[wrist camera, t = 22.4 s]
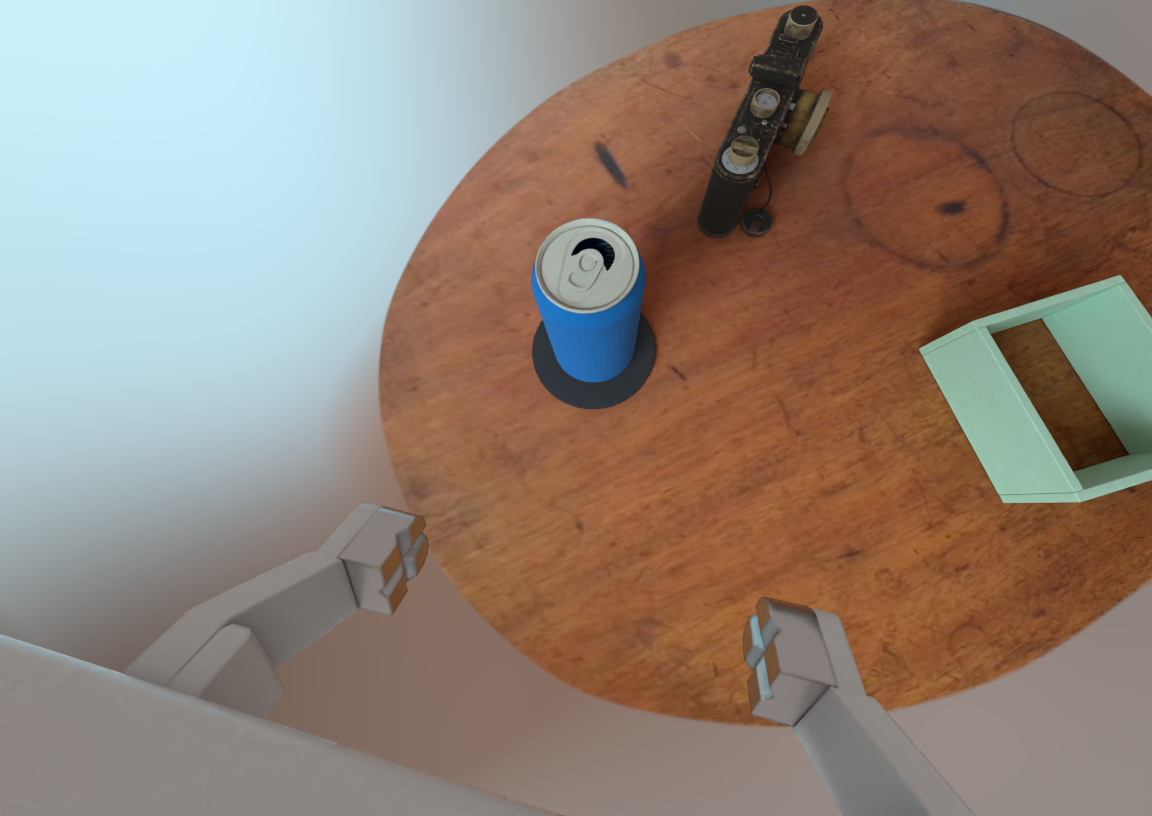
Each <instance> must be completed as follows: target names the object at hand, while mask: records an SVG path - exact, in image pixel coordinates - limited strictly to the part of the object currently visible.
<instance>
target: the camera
mask: <svg viewBox="0 0 1152 816" xmlns="http://www.w3.org/2000/svg"><path fill="white" fill-rule="evenodd" d="M822 29H823V22H822V19H821V17H820V16H819V15H818V14H817V12H816V10H815V9H814V8H812V7H810V6H798V7H796V8H794V9H793V10H790V11H787V12H786V13H784V14H783V15H782V16H781V18H780V20H779V22H778V24H777V26H776V28H775V30H774V32H773V35H772V37H771V39H770V41H769V43H768V45H767V48H766V50H765V52H764V54H763V55H757V56H754V57H753V59H752V61H751V64H750V67H749V71H748V73H750V76H753V78H752V80H751V82H750V84H749V86H748V89H747V91H746V93H745V95H744V97H743V99H742V102H741V104H740V106H739V108H738V110H737V112H736V115H735V117H734V119H733V121H732V123H731V125H730V128H729V130H728V132H727V134H726V136H725V138H724V140H723V143H722V145H721V147H720V149H719V151H718V153H717V156H716V159H715V165H714V168H713V171H712V174H711V177H710V181H709V184H708V187H707V190H706V194H705V197H704V200H703V203H702V207H701V210H700V213H699V215H698V218H697V225H698V227H699V229H700V230H701V231H702V232H703V233H704V234H705V235H707V236H710V237H713V238H722V237H726V236H728V235H730V234H731V233H732V232H733V231H734V229H735V227H736V224H737V222H738V220H739V217H740V215H741V213H742V211H743V208H744V206H745V204H746V201H747V199H748V197H749V195H750V192H751V190H752V188H757V186H758V183H759V181H760V175H761V172H762V169H763V167H764V168H765V173H766V176H767V179H768V182H769V186H770V195H769V199H768V201H767V204H766V206H765V208H764V209H761V208H753V209H750V210H748V211H747V212H746V213H745V214H744V215H743V217H742V221H741V227H742V230H743V231H744V232H745V233H746V234H747V235H749V236H752V237H760V236H763V235H764V234H766V233H767V232H768V231H769V230H770V229H771V227H772V224H773V220H772V216H771V215H770V213H769V212H767V211H766V210H765V209H766V207H767V206H768V203H769V201H770V198H771V193H772V188H771V182H770V179H769V176H768V174H767V169H766V161H765V160H766V158H767V156H768V154H769V152H770V149H771V147H772V145H774V143H776V144H780V145H783V146H786V147H790V148H793V154H796V155H799V156H802V155H803V153H804V152H805V150H806V148H807V147H808V145H809V143H810V144H812V143H813V141H814V139H815V137H816V136H817V134H818V132H819V130H820V128H821V126H822V124H823V123H822V120H825V117H826V115H827V113H828V110H829V108H828V107H827V106H828V104H829V102H830V99H831V97H832V94H833V93H832V91H828V90H824V89H823V90H822V91H821V92H820V94H817V93H813V92H809V91H806V90H802V89H799V84H800V82H801V79H802V77H803V75H804V72H805V71H804V70H805V68H806V66H807V63H808V61H809V59H810V57H811V54H812V52H813V50H814V47H815V45H816V43H817V40H818V38H819V36H820V34H821V31H822Z"/></svg>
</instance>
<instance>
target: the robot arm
mask: <svg viewBox="0 0 1152 816" xmlns="http://www.w3.org/2000/svg"><path fill="white" fill-rule="evenodd" d="M425 526H426V524H425V519H424V517H423V516H420V515H416V514H412V513H408V512H404V511H401V510H397V509H393V508H389V507H386V506H382V505H378V504H373V503H369V502H365V503H363V504H361V505H359V506H358V507H357V509H355V510H354V512H353V513H352V514H351V515H350V516H349V517H348V518H347V519H346V520H345V521H344V523H343V524H342V525H341V526H340V527H339V528H338V529H337V530H336V531H335V532H334V534H333V535H332V536H331V537H330V538H329V539H328V540H327V541H326V542H325V543H324V544H323V545H322V547H321V548H320V549H319V550H318V551H317V552H316V553H315V552H308V553H306V554H304V555H302V556H300V557H298V558H296V559H294V560H291V561H289V562H287V563H285V564H283V565H281V566H279V567H277V568H274V569H272V570H270V571H268V572H266V573H264V574H262V575H260V576H258V577H256V578H254V579H251V580H249V581H248V582H245V583H243V584H241V585H239V586H237V587H235V588H233V589H231V590H228V591H226V592H224V593H222V594H220V595H218V596H216V597H214V598H212V599H209V600H208V601H205V602H203V603H201V604H199V605H197V606H195V607H193V608H190V609H189V610H188V611H187V612H186V613H185V614H184V615H183V616H182V617H181V618H180V619H179V620H177V622H175V623H174V624H173V625H172V626H171V627H170V628H169V629H168V630H167V631H166V632H165V633H164V634H163V635H161V636H160V637H159V638H158V639H157V640H156V641H155V642H154V643H153V644H152V645H151V646H150V647H148V648H147V649H146V650H145V651H144V652H143V653H142V654H141V655H140V656H139V657H138V658H137V659H136V660H134V662H132V663H131V664H130V665H129V666H128V667H127V668H126V669H125V670H124V671H123V672H122V673H120V672H116V671H113V670H111V669H107V668H104V667H101V666H98V665H95V664H92V663H89V662H86V661H83V660H79V659H76V658H73V657H70V656H67V655H64V654H61V653H57V652H55V651H52V650H48V649H45V648H42V647H39V646H36V645H33V644H30V643H27V642H23V641H20V640H17V639H14V638H11V637H8V636H5V635H2V634H0V816H563V815H560V814H557V813H554V812H551V811H548V810H545V809H542V808H539V807H535V806H532V805H529V804H526V803H523V802H520V801H516V800H514V799H511V798H508V797H504V796H501V795H498V794H495V793H492V792H489V791H486V790H483V789H480V788H476V787H473V786H470V785H467V784H464V783H461V782H458V781H455V780H451V779H449V778H445V777H442V776H439V775H436V774H433V773H430V772H427V771H424V770H420V769H418V768H414V767H411V766H408V765H405V764H402V763H399V762H396V761H393V760H390V759H387V758H383V757H380V756H377V755H374V754H371V753H368V752H365V751H362V750H358V749H356V748H352V747H349V746H346V745H343V744H340V743H337V742H334V741H331V740H328V739H325V738H321V737H318V736H315V735H312V734H309V733H306V732H303V731H300V730H296V729H294V728H290V727H287V726H284V725H281V724H278V723H275V722H272V721H269V720H266V719H267V718H268V717H269V715H270V714H271V712H272V711H273V710H274V708H275V707H276V705H277V704H278V703H279V701H280V700H281V698H282V697H283V695H284V694H285V685H284V684H283V682H282V680H281V679H280V677H279V675H278V674H277V672H276V671H275V670H276V669H277V668H278V667H280V666H281V665H283V664H284V663H285V662H287V661H288V660H290V659H291V658H293V657H294V656H295V655H297V654H298V653H300V652H301V651H302V650H304V649H305V648H306V647H308V646H309V645H311V644H312V643H314V642H315V641H316V640H318V639H319V638H321V637H322V636H323V635H325V634H326V633H328V632H329V631H330V630H332V629H333V628H335V627H336V626H337V625H339V624H340V623H341V622H343V621H344V620H346V619H347V618H348V617H350V616H351V615H353V614H354V613H356V612H357V611H358V610H359V609H358V608H361V609H365V610H369V611H373V612H377V613H381V614H385V615H390V616H392V615H393V613H394V612H395V610H396V609H397V607H398V606H399V604H400V602H401V601H402V599H403V598H404V596H405V594H406V593H407V581H409V580H410V579H412V578H413V577H415V576H417V575H418V573H419V571H420V570H421V568H422V567H423V565H424V562H425V559H426V557H427V554H428V546H429V544H428V538H427V537H426V535H425V534H424V533H423V532H422V531H423V529H424V528H425ZM756 610H757V614H755V615H753V616H750V617H749V619H748V621H747V623H746V625H745V629H744V635H743V652H744V660H745V661H746V663H747V664H748V666H749V667H750V669H751V670H752V674H751V675H750V677H749V679H748V680H747V685H748V692H749V700H750V707H751V715H754V716H758V717H761V718H764V719H768V720H771V721H774V722H777V723H781V724H784V725H787V726H791V727H794V728H793V731H794V733H795V735H796V736H797V738H798V740H799V741H800V743H801V745H802V746H803V748H804V750H805V751H806V753H807V755H808V757H809V758H810V760H811V762H812V764H813V765H814V767H815V769H816V770H817V772H818V774H819V776H820V777H821V779H822V781H823V782H824V784H825V786H826V787H827V789H828V791H829V793H830V794H831V796H832V798H833V800H834V801H835V803H836V804H837V806H838V808H839V810H840V811H841V813H842V815H843V816H976V815H975V814H974V812H973V811H972V810H971V809H970V808H969V807H968V806H967V804H966V803H965V802H964V801H963V800H962V799H961V797H960V796H959V795H958V794H957V793H956V792H955V790H954V789H953V788H952V787H951V786H950V785H949V783H948V782H947V781H946V780H945V779H944V778H943V776H942V775H941V774H940V773H939V772H938V771H937V770H936V768H935V767H934V766H933V765H932V764H931V763H930V762H929V760H928V759H927V758H926V757H925V756H924V754H923V753H922V752H921V751H920V750H919V749H918V747H917V746H916V745H915V744H914V743H913V742H912V741H911V739H910V738H909V737H908V736H907V735H906V734H905V732H904V731H903V730H902V729H901V728H900V727H899V726H898V724H897V723H896V722H895V721H894V720H893V718H891V716H890V715H889V714H888V713H887V711H886V710H885V709H884V708H883V707H882V706H881V705H880V703H879V702H878V701H877V700H876V699H875V698H873V697H870V696H867V694H866V691H865V689H864V686H863V683H862V680H861V677H860V674H859V671H858V669H857V666H856V663H855V660H854V657H853V654H852V652H851V649H850V646H849V643H848V640H847V637H846V634H845V632H844V629H843V626H842V623H841V620H840V618H839V617H838V616H837V615H836V614H835V613H832V612H827V611H823V610H818V609H814V608H809V607H808V606H804V605H799V604H795V603H790V602H786V601H781V600H777V599H772V598H768V597H762V598H760V599H759V601H758V602H757V604H756Z"/></svg>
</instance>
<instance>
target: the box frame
mask: <svg viewBox="0 0 1152 816" xmlns="http://www.w3.org/2000/svg"><path fill="white" fill-rule="evenodd" d="M1040 318H1042V320H1043V321H1044V323H1045V324H1046V326H1047V327H1048V329H1049V331H1050V332H1051V334H1052V335H1053V337H1054V338H1055V340H1056V341H1057V343H1058V345H1059V346H1060V348H1061V349H1062V351H1063V352H1064V354H1065V355H1066V357H1067V358H1068V360H1069V362H1070V363H1071V365H1072V366H1073V368H1074V369H1075V371H1076V372H1077V374H1078V376H1079V377H1080V379H1081V380H1082V382H1083V383H1084V385H1085V386H1086V388H1087V390H1088V391H1089V393H1090V394H1091V396H1092V397H1093V399H1094V400H1095V402H1096V404H1097V405H1098V407H1099V408H1100V410H1101V411H1102V413H1103V414H1104V416H1105V418H1106V419H1107V421H1108V422H1109V424H1110V425H1111V427H1112V428H1113V430H1114V432H1115V433H1116V435H1117V436H1118V438H1119V439H1120V441H1121V442H1122V444H1123V446H1124V447H1125V449H1126V450H1127V452H1128V453H1129V454H1130V455H1126V456H1123V457H1120V458H1117V459H1113V460H1110V461H1107V462H1104V463H1101V464H1097V465H1094V466H1091V467H1088V468H1084V469H1081V470H1078V471H1075V472H1073V471H1072V469H1071V467H1070V466H1069V464H1068V462H1067V461H1066V459H1065V457H1064V456H1063V454H1062V452H1061V451H1060V449H1059V448H1058V446H1057V444H1056V443H1055V441H1054V439H1053V438H1052V436H1051V434H1050V433H1049V431H1048V429H1047V428H1046V426H1045V424H1044V423H1043V421H1042V419H1041V418H1040V416H1039V414H1038V413H1037V411H1036V409H1035V408H1034V406H1033V404H1032V403H1031V401H1030V399H1029V398H1028V396H1027V394H1026V393H1025V391H1024V389H1023V388H1022V386H1021V384H1020V383H1019V381H1018V379H1017V378H1016V376H1015V374H1014V373H1013V371H1012V370H1011V368H1010V366H1009V365H1008V363H1007V361H1006V360H1005V358H1004V356H1003V355H1002V353H1001V351H1000V350H999V348H998V346H997V345H996V343H995V341H994V340H993V338H992V336H991V335H990V334H992V333H996V332H999V331H1002V330H1005V329H1008V328H1012V327H1015V326H1018V325H1021V324H1024V323H1028V322H1031V321H1034V320H1037V319H1040ZM919 351H920V352H921V354H922V355H923V358H924V360H925V362H926V363H927V365H928V367H929V369H930V371H931V372H932V374H933V376H934V378H935V380H936V382H937V383H938V385H939V387H940V389H941V391H942V392H943V394H944V396H945V398H946V400H947V402H948V403H949V405H950V407H951V409H952V411H953V413H954V414H955V416H956V418H957V420H958V422H959V423H960V425H961V427H962V429H963V431H964V433H965V434H966V436H967V438H968V440H969V442H970V443H971V445H972V447H973V449H974V451H975V453H976V454H977V456H978V458H979V460H980V462H981V463H982V465H983V467H984V469H985V471H986V473H987V474H988V476H989V478H990V480H991V482H992V483H993V485H994V487H995V489H996V491H997V493H998V494H999V496H1000V498H1001V500H1002V502H1003V503H1049V502H1083V501H1086V500H1089V499H1092V498H1096V497H1099V496H1102V495H1105V494H1108V493H1112V492H1115V491H1118V490H1121V489H1125V488H1128V487H1131V486H1134V485H1138V484H1141V483H1144V482H1147V481H1150V480H1152V317H1151V316H1150V315H1149V313H1148V312H1147V311H1146V309H1145V308H1144V306H1143V305H1142V304H1141V302H1140V301H1139V299H1138V298H1137V297H1136V295H1135V294H1134V292H1133V291H1132V290H1131V288H1130V287H1129V285H1128V284H1127V283H1125V280H1124V279H1123V277H1122V276H1121V275H1118V276H1115V277H1111V278H1108V279H1105V280H1102V281H1099V282H1095V283H1092V284H1089V285H1086V286H1083V287H1079V288H1076V289H1073V290H1070V291H1067V292H1063V293H1060V294H1057V295H1054V296H1051V297H1047V298H1044V299H1041V300H1038V301H1035V302H1031V303H1028V304H1025V305H1022V306H1019V307H1015V308H1012V309H1009V310H1006V311H1003V312H999V313H996V314H993V315H990V316H987V317H983V318H980V319H977V320H974V321H971V322H969V323H967V324H966V325H964V326H962V327H960V328H958V329H956V330H954V331H952V332H950V333H948V334H946V335H944V336H942V337H940V338H938V339H936V340H934V341H932V342H931V343H929V344H927V345H925V346H923V347H921V348H919Z"/></svg>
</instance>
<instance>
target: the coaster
mask: <svg viewBox="0 0 1152 816" xmlns="http://www.w3.org/2000/svg"><path fill="white" fill-rule="evenodd" d="M532 355H533V363H534V367H535V370H536V373H537V375H538V377H539V379H540V380H541V382H542V384H543V385H544V386H545V388H546V389H547V390H548V391H549V392H550V393H551V394H552V395H554V396H555V397H556V398H557V399H559V400H561V401H562V402H564V403H567V404H569V405H571V406H575V407H578V408H584V409H601V408H606V407H611V406H614V405H616V404H619V403H621V402H623V401H625V400H626V399H628V398H629V397H631V396H632V395H633V394H634V393H636V392H637V391H638V390H639V389H640V387H641V386H642V385H643V384H644V382H645V381H646V379H647V377H648V376H649V373H650V371H651V369H652V365H653V362H654V355H655V343H654V337H653V334H652V330H651V328H650V326H649V324H648V322H647V321H646V319H645V317H644V316H643V315H642V314H641V313H640V319H639V325H638V331H637V337H636V344H635V350H634V354H633V357H632V359H631V361H630V363H629V364H628V366H627V367H626V368H625V369H624V370H623V371H622V372H621V373H620V374H618V375H617V376H615V377H613V378H612V379H609V380H606V381H602V382H585V381H581V380H578V379H576V378H574V377H572V376H570V375H569V374H568V373H566V372H565V371H564V370H563V369H562V367H561V366H560V365H559V363H558V361H557V359H556V356H555V353H554V350H553V348H552V345H551V342H550V339H549V336H548V334H547V331H546V328H545V325H544V322H543V320H542V321H541V323H540V325H539V327H538V329H537V331H536V334H535V336H534V341H533V348H532Z"/></svg>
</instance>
